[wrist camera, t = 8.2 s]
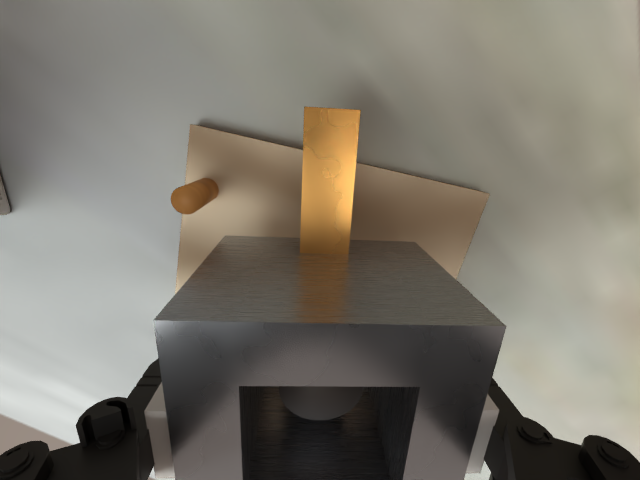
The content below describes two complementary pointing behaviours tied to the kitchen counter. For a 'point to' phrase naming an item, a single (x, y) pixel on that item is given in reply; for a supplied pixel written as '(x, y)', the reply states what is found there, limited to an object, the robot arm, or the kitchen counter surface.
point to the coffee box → (3, 200)
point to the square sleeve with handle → (324, 345)
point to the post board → (285, 219)
